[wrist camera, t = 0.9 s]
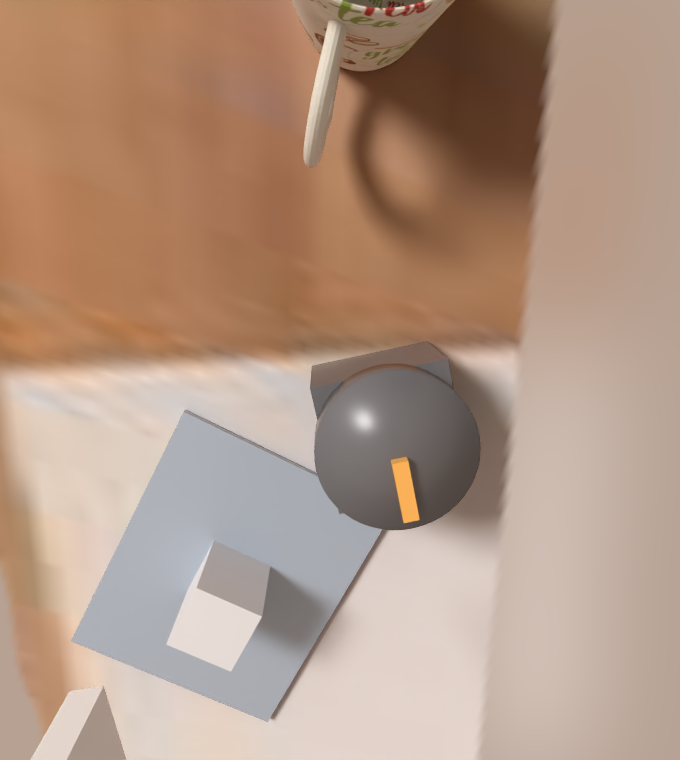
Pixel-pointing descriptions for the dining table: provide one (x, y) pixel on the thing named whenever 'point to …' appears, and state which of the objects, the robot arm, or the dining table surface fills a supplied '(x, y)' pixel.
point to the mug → (356, 47)
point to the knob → (393, 437)
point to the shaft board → (244, 521)
